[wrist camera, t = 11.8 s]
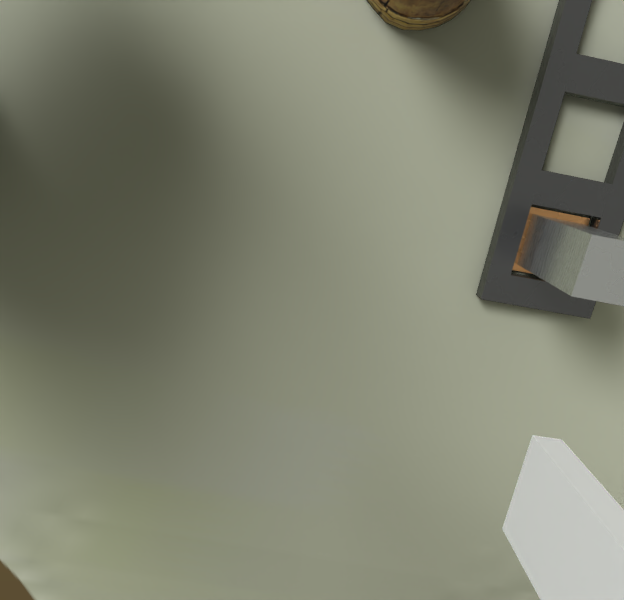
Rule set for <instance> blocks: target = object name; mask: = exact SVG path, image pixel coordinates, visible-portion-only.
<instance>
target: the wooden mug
mask: <svg viewBox="0 0 624 600" xmlns="http://www.w3.org/2000/svg"><path fill="white" fill-rule="evenodd" d="M367 1H368V2H369V3H370V5H371V6H372V7H373V8H374V10H375V11H376V12H377V13H378V14H379V15H380V16H381V18H382V19H383V20H384V21H385V22H387V23H389V24H391V25H393V26H396V27H398V28H400V29H402V30H423V29H429V28H434V27H437V26H439V25H441V24H443V23H445V22H447V21H449V20H451V19H453V18H454V17H455V16H456V15H457V14H458V13H460V12H461V11H462V10H463V9H464V8H465V7H466V6H467V5H468V3H469V2H470V0H367Z"/></svg>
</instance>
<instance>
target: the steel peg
mask: <svg viewBox="0 0 624 600" xmlns="http://www.w3.org/2000/svg"><path fill="white" fill-rule="evenodd" d="M517 264H518V265H519V266H521V267H523V268H524V269H526V270H528V271H529V272H531V273H533V274H534V275H536V276H538V277H540V278H541V279H543V280H545V281H546V282H548V283H550V284H551V285H553V286H555V287H556V288H558V289H560V290H561V291H563V292H565V293H567V294H568V295H570V296H572V297H578V298H583V299H588V300H593V301H599V302H604V303H609V304H614V305H620V306H624V237H621V236H618V235H615V234H612V233H609V232H606V231H603V230H600V229H596V228H593V227H590V226H587V225H584V224H580V223H575V222H571V221H566V220H561V219H556V218H551V217H546V216H541V215H536V214H532V217H531V221H530V224H529V227H528V230H527V234H526V237H525V240H524V244H523V247H522V250H521V253H520V257H519V260H518V263H517Z"/></svg>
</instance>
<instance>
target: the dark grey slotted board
mask: <svg viewBox="0 0 624 600" xmlns="http://www.w3.org/2000/svg"><path fill="white" fill-rule="evenodd" d="M591 2H592V0H559V2H558V6H557V9H556V13H555V17H554V20H553V24H552V27H551V31H550V34H549V38H548V41H547V45H546V48H545V52H544V56H543V59H542V63H541V66H540V70H539V73H538V77H537V80H536V84H535V87H534V91H533V95H532V98H531V102H530V105H529V109H528V112H527V116H526V119H525V123H524V127H523V130H522V134H521V137H520V141H519V144H518V148H517V151H516V155H515V158H514V162H513V166H512V169H511V173H510V176H509V180H508V183H507V187H506V190H505V194H504V197H503V201H502V205H501V208H500V212H499V215H498V219H497V222H496V226H495V229H494V233H493V237H492V240H491V244H490V247H489V251H488V254H487V258H486V261H485V265H484V268H483V272H482V276H481V279H480V283H479V286H478V290H477V293H476V295H477V296H478V297H479V298H480V299H484V300H489V301H495V302H501V303H506V304H512V305H517V306H523V307H528V308H534V309H540V310H545V311H551V312H556V313H562V314H567V315H573V316H579V317H584V318H590V317H591V315H592V312H593V309H594V306H595V303H596V301H593V300H588V299H583V298H578V297H572V296H570V295H568V294H567V293H565V292H563V291H561V290H560V289H558V288H556V287H555V286H553V285H551V284H550V283H548V282H546V281H545V280H543V279H541V278H538V277H532V276H527V275H522V274H516V273H511V272H512V270H515V271H520V272H526V273H531V272H529V271H528V270H526V269H524V268H523V267H521V266H519V265H518V264H517V263H518V260H519V257H520V253H521V250H522V247H523V244H524V240H525V237H526V234H527V230H528V227H529V224H530V221H531V217H532V214H536V215H541V216H546V217H551V218H556V219H561V220H566V221H571V222H575V223H580V224H584V225H587V226H588V225H589V221H590V218H586V217H581V216H576V215H571V214H566V213H561V212H556V211H550V210H545V209H540V208H535V207H531V205H532V204H534V205H539V206H544V207H549V208H554V209H559V210H564V211H569V212H574V213H580V214H585V215H590V216H593V218H592V221H591V224H590V227H593V228H596V229H600V230H603V231H606V232H609V233H612V234H615V235H618V236H619V233H620V230H621V227H622V224H623V221H624V123H623V126H622V129H621V132H620V135H619V138H618V141H617V145H616V148H615V151H614V154H613V157H612V160H611V163H610V166H609V169H608V172H607V175H606V178H605V181H604V183H603V182H598V181H593V180H588V179H583V178H578V177H573V176H568V175H563V174H558V173H553V172H549V171H544V170H542V168H543V164H544V161H545V157H546V154H547V151H548V147H549V144H550V141H551V137H552V134H553V130H554V127H555V124H556V120H557V117H558V114H559V110H560V107H561V103H562V100H563V97H564V94H567V95H572V96H576V97H581V98H586V99H590V100H595V101H600V102H604V103H609V104H614V105H618V106H623V107H624V64H621V63H616V62H612V61H607V60H603V59H598V58H594V57H589V56H585V55H580V54H576V53H577V49H578V46H579V43H580V39H581V36H582V33H583V29H584V26H585V22H586V19H587V16H588V12H589V9H590V6H591ZM531 274H533V273H531Z"/></svg>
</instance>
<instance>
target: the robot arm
mask: <svg viewBox="0 0 624 600" xmlns="http://www.w3.org/2000/svg"><path fill="white" fill-rule="evenodd" d="M502 529H503V531H504V533H505V535H506V537H507V539H508V541H509V542H510V544H511V546H512V548H513V550H514V552H515V554H516V555H517V557H518V559H519V561H520V563H521V565H522V567H523V568H524V570H525V572H526V574H527V576H528V578H529V580H530V581H531V583H532V585H533V587H534V589H535V591H536V593H537V595H538V596H539V598H540V600H624V510H623V508H622V507H621V506H620V505H619V504H618V503H617V502H616V500H615V499H614V498H613V497H612V496H611V495H610V494H609V492H608V491H607V490H606V489H605V488H604V487H603V486H602V484H601V483H600V482H599V481H598V480H597V479H596V478H595V477H594V475H593V474H592V473H591V472H590V471H589V470H588V469H587V467H586V466H585V465H584V464H583V463H582V462H581V461H580V459H579V458H578V457H577V456H576V455H575V454H574V453H573V452H572V450H571V449H570V448H569V447H568V446H567V445H566V444H565V442H564V441H563V440H562V439H556V438H548V437H541V436H534V435H532V438H531V441H530V444H529V447H528V450H527V453H526V457H525V460H524V463H523V466H522V469H521V472H520V475H519V478H518V481H517V485H516V488H515V491H514V494H513V497H512V500H511V503H510V506H509V509H508V513H507V516H506V519H505V522H504V525H503V528H502Z"/></svg>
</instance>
